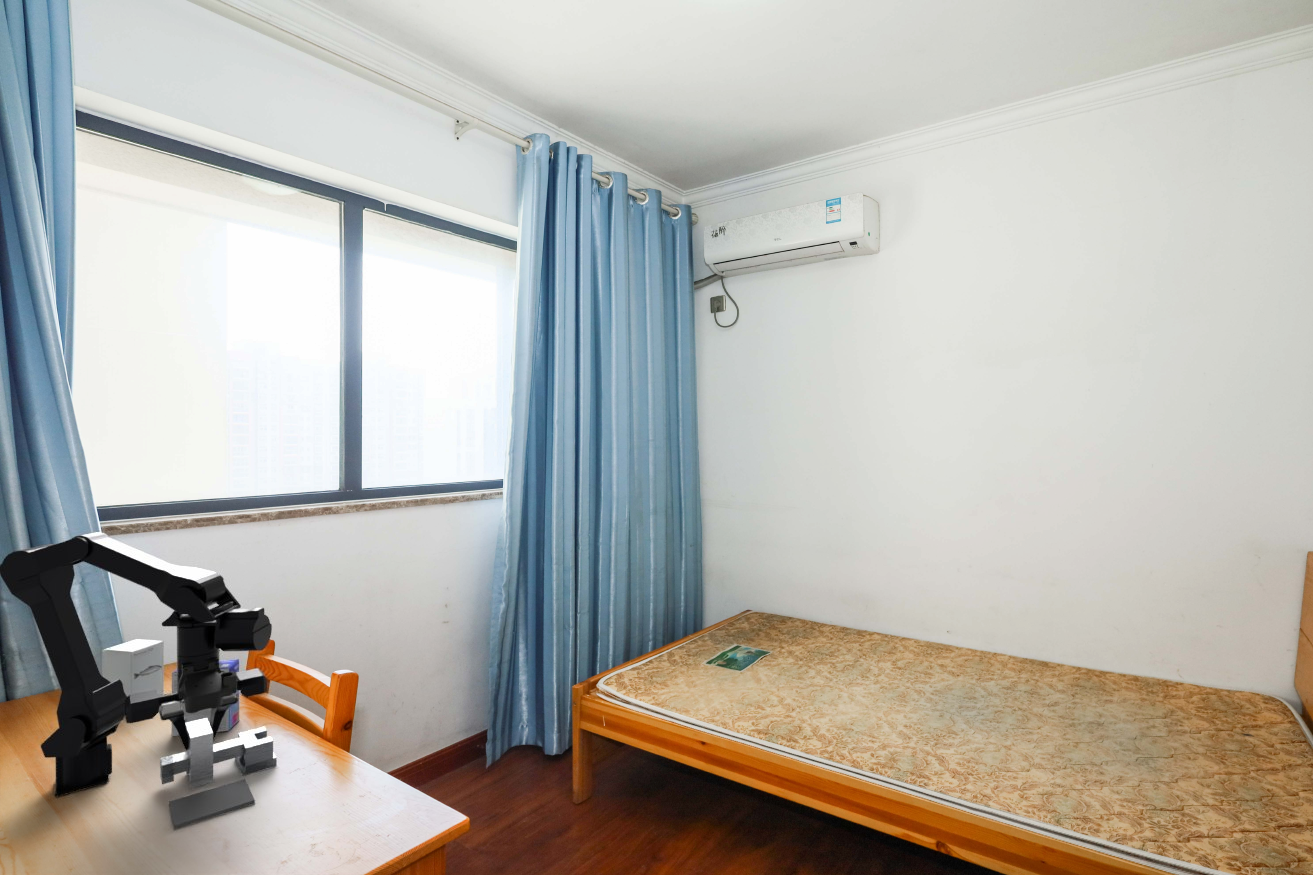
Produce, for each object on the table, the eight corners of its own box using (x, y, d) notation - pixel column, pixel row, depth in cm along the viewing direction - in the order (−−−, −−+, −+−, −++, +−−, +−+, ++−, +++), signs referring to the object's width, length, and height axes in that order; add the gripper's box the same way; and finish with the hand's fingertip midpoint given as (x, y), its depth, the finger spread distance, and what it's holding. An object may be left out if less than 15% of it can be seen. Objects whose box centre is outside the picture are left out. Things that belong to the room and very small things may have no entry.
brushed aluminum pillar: (190, 787, 104) (190, 737, 104) (185, 770, 110) (185, 722, 109) (213, 781, 106) (213, 732, 106) (207, 764, 111) (206, 717, 111)
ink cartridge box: (241, 719, 130) (240, 646, 130) (230, 731, 125) (230, 655, 124) (183, 724, 127) (183, 650, 127) (170, 737, 122) (169, 659, 122)
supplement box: (130, 714, 132) (130, 651, 131) (100, 711, 133) (100, 649, 133) (165, 699, 139) (164, 640, 139) (136, 696, 140) (136, 637, 140)
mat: (174, 829, 94) (174, 825, 94) (168, 805, 100) (168, 801, 100) (254, 803, 101) (254, 799, 101) (245, 782, 107) (245, 778, 107)
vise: (163, 799, 102) (163, 770, 102) (159, 780, 107) (159, 753, 107) (276, 765, 112) (276, 739, 112) (267, 750, 117) (267, 725, 117)
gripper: (127, 679, 95) (128, 786, 96) (274, 651, 108) (274, 745, 108) (124, 658, 104) (125, 756, 104) (260, 634, 116) (260, 722, 116)
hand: (199, 745), depth 108 cm, fingers closed on brushed aluminum pillar, 3 cm apart
